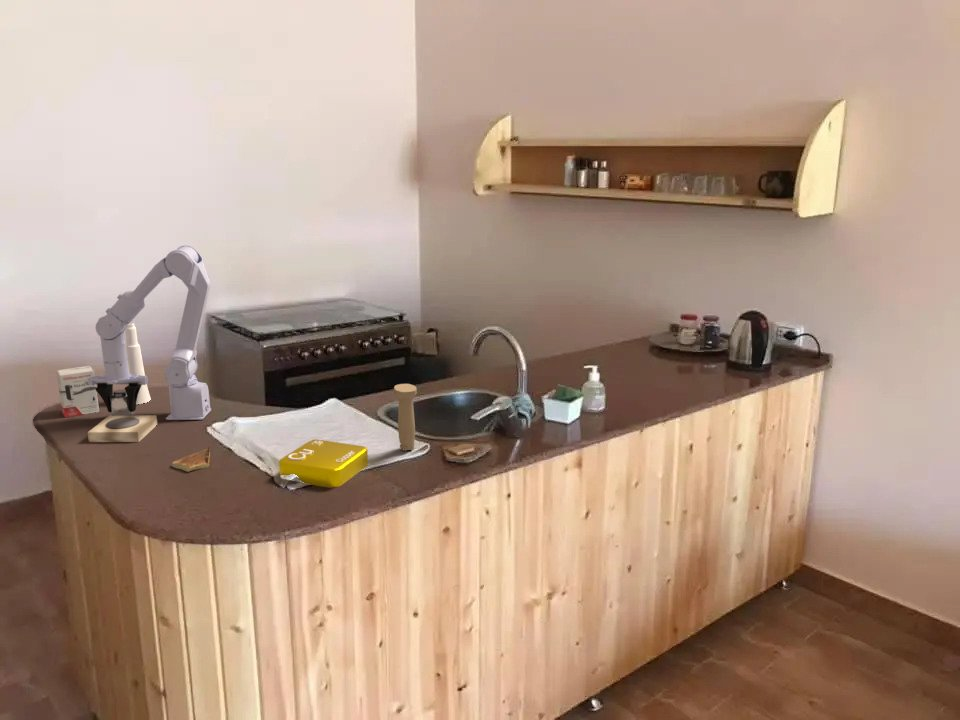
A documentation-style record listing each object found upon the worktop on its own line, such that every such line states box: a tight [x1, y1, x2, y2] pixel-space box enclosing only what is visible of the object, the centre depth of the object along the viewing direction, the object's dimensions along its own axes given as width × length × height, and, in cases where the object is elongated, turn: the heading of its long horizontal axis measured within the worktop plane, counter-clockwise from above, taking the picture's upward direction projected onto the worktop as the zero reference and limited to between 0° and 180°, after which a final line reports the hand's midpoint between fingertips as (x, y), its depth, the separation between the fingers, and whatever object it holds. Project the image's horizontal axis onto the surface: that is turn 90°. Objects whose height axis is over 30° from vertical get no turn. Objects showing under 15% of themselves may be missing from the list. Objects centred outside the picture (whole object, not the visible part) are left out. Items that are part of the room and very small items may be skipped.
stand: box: [87, 414, 158, 443], centre depth 206 cm, size 12×12×3 cm
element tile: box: [278, 439, 369, 489], centre depth 183 cm, size 15×15×5 cm
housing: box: [110, 390, 134, 416], centre depth 217 cm, size 5×5×7 cm
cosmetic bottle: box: [124, 322, 152, 406], centre depth 228 cm, size 6×6×22 cm
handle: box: [393, 383, 418, 451], centre depth 193 cm, size 5×6×15 cm
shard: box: [171, 446, 211, 473], centre depth 188 cm, size 11×8×2 cm
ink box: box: [56, 365, 100, 418], centre depth 220 cm, size 8×5×12 cm, turn 123°
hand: (122, 410), depth 217 cm, fingers closed on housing, 5 cm apart
